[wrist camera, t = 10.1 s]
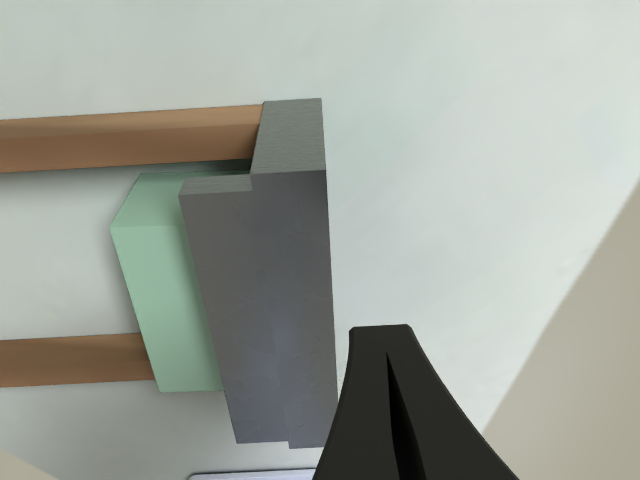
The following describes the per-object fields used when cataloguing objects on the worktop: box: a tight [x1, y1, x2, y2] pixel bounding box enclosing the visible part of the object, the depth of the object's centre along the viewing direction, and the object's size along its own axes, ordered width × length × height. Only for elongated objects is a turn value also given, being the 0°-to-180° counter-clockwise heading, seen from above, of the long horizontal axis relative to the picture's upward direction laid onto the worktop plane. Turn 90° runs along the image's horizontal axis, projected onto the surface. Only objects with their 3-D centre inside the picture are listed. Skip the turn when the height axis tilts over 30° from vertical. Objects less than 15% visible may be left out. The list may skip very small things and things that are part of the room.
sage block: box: [109, 170, 251, 393], centre depth 21 cm, size 8×5×4 cm, turn 2°
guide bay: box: [0, 98, 338, 449], centre depth 19 cm, size 12×18×6 cm, turn 93°
